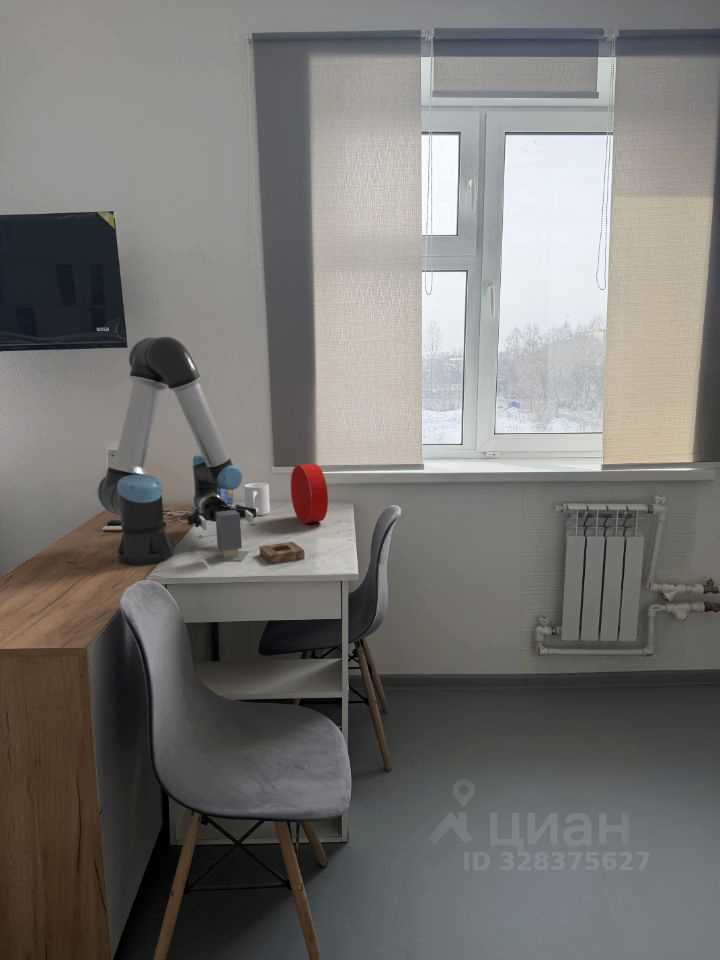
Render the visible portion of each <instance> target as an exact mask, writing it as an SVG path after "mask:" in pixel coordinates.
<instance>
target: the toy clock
mask: <svg viewBox="0 0 720 960" xmlns="http://www.w3.org/2000/svg"><path fill="white" fill-rule="evenodd" d="M290 478H291V479H290V495H291V502H292V507H293V509H294V513H295V515H296V517H297V519H298V520H299V522H300V523H302V524H310V523H315V522H316V523H317V522H322V521H324V519H325V518H326V516H327V512H328V507H329V494H328V493H329V491H328V487H327V482H326V479H325V475H324V472H323V470H322V469H321V467H320V466H319V465H318V464H316V463H307V464H297V465H295V466H294V467H293V469H292V473H291V477H290Z"/></svg>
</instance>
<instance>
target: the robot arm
mask: <svg viewBox="0 0 720 960" xmlns="http://www.w3.org/2000/svg"><path fill="white" fill-rule="evenodd" d="M128 363H129V366H130V372H129V377H128V378H129V379H130V381H131V382H132V387H131V393H130V397H129V401H128V405H127V409H126V413H125V418H124V422H123V427H122V431H121V434H120V438H119V439H120V440H119V443H118V448H117V452H116V456H115V460H114V462H113V463H111V464H109V465H108V467H107V471H106V473H105V474H106V475H105V476H104V477H103V478H102V479H101V480H100V482H99V483H98V485H97V488H96V489H97V491H96V495H97V499H98V501H99V503H100V504H101V506H102V507H103V508H104V509H105V510H107V511H108V512H110V513H111V514H115V515H117V516H119V517H120V527H121V538H120V541H119V545H118V548H117V562H118V563H120V564H122V565H125V566H127V565H128V566H145V565H152V564H158V563H160V562H164V561H166V559H167V560H169V559H171V558H172V557H173V556H174V554H173V546H172V544H171V541H170V540H169V537H168V535H167V532H166V530H165V521H164V520H165V519H164V505H163V489H162V485H161V480H160V479H159V478H157V477H155V476H154V475H149V474H148V472H147V470H146V468H145V466H146V462H147V458H148V453H149V449H150V445H151V441H152V436H153V433H154V432H153V431H154V429H155V425H156V419H157V415H158V411H159V408H160V402H161V399H162V394H163V392H164V391H165V390H166V389H169V390H171V391H173V392H174V394H175V397H176V399H177V401H178V403H179V406H180V408H181V410H182V413H183V415H184V417H185V419H186V421H187V422H186V423H188V426H189V429H190V432H191V433H192V436H193V438H194V440H195V442H196V444H197V445H196V446H197V447H198V449H199V451H200V453H199V454H195V455H194V456H193V457H192V471H193V473H192V474H193V481H194V482H193V483H194V494H193V503H194V506H195V508H194V511H193V512H192V513H190V514H189V515H188V516H187V523H188V526H193V525H194V527H195V528H199V527H201V529H202V530H203V531H207V521H210V522H215V523H216V515H215V512H221V511H229V510H236V511H237V512H238V513H239V514H240V519H245V520H246V521H247V522H248V523H249V524H250V525H255V524H254V523H255V522H254V519H255V518H257V517H258V516H256V509H255V508H251V507H250V508H249V507H246V506H243V505H240V504H235V505H234V506H233V507H232V506H227V504H226V502H225V501H224V500H223V499H222V498H220V497H219V492H218V487H219V488H222V489H227V490H233V491H234V490H235V489H237V488H239V487H240V486H241V484H242V482H243V473H242V470H241V469H239V467H238V466H236V465H234V463H233V461H232V460H231V457H230V455H229V452H228V449H227V447H226V446H225V442H224V441H223V438H222V435H221V433H220V430H219V428H218V426H217V424H216V421H215V419H214V416H213V414H212V411H211V408H210V407H209V404H208V402H207V399H206V397H205V394H204V392H203V389H202V387H201V385H200V383H199V381H200V379H201V375H200V373H199V370H198V368H197V366H196V363H195V361H194V360H193V358H192V355H191V354H190V352H189V350H188V349H187V348H186V346H185V345H184V344H183V343H182V342H181V341H179V340H178V339H176V338H173V337H171V336H170V337H169V336H160V337H147V338H143V339H141V340H139V341H137V342H135V343H134V344H133V346H132V347H131V348H130V351H129V354H128ZM171 556H172V557H171ZM170 557H171V558H170ZM168 558H169V559H168Z"/></svg>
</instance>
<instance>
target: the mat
mask: <svg viewBox="0 0 720 960" xmlns="http://www.w3.org/2000/svg"><path fill="white" fill-rule="evenodd" d="M238 552H239V556H237V557H230V558H224V557H223V556H222V555H221V550H218V552H216V554H215V555H213V556H212V557H211V559H209V562H243V560H244V559H245V558H246V557H247V556H248V554H249V553H250V550H238Z"/></svg>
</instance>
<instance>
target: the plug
mask: <svg viewBox="0 0 720 960" xmlns="http://www.w3.org/2000/svg"><path fill="white" fill-rule="evenodd" d="M215 515H216V522H215V528H216V542H217V547H218V548H219V550H220V551H221V555H222V556H223V557H224V558H230V557H237V556H239V552H238V551H239V549H242V547H243V545H242V529H241V528H242V527H241V518H240V514H239V513H238V512H237V511H236V510H229V511H221V512H215Z"/></svg>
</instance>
